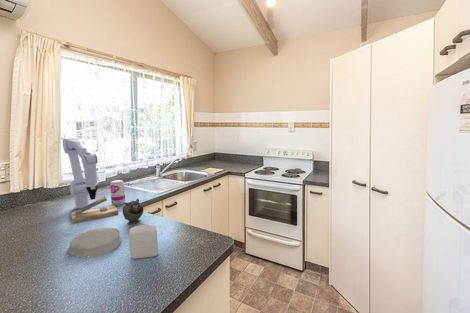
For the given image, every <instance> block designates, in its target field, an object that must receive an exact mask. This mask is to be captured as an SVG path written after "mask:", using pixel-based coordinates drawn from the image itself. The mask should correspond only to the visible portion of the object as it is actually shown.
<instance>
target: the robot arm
mask: <svg viewBox="0 0 470 313" xmlns="http://www.w3.org/2000/svg"><path fill="white" fill-rule="evenodd" d="M84 144H85V143H84V139H83V138H82V137H76V138H75V137H74V138H73V137H70V138H66V137H65V138H63V139H62V148H63V151H64V154H67V155H68V159H69V163H70V166H71V171H72V176H73V180H72V181H71V182H70V183H69V190H70V194H71V195H72V196H73V197H74V209H75V208H77V207H80V208H82V207H85V206H87V205H89V204H90V200H95V199H96V195H97V191H98V189H99V188H98V185H100V181H99V182H98V176H97V174H98V173H97V164H98V156H97V154H96V153H92V152H91V151H90V150H89V148H87V147H85V146H84ZM79 157H80V158H79ZM80 159H81V162H82V166H81V163H80ZM81 167H83V170H82V168H81ZM83 171H84V175H83ZM89 198H90V199H89Z"/></svg>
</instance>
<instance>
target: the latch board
mask: <svg viewBox="0 0 470 313" xmlns="http://www.w3.org/2000/svg"><path fill="white" fill-rule="evenodd" d="M77 209H80V207H77V208H74V211H72V212H70V213H71V220H72V224H77V223H80V222H85V221H90V220H96V219H100V218H101V219H102V218H106V217H112V216H116V215H119V210H118V208H117V207H116V205H113V204H108V205H104V206H98V207H92V208H90V209H88V210H86V211H84V212H82V213H81V210H80V211H76V210H77Z"/></svg>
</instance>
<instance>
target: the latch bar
mask: <svg viewBox="0 0 470 313" xmlns="http://www.w3.org/2000/svg"><path fill="white" fill-rule="evenodd" d="M106 201H107V197H106V196H103V197H100V198H97V200H95V201H93V202H91V203H89V205H87V206H85V207H82V208H80V209H77V210H76V211H80V210H81V213H82V212H84V211H86V210H88V209H92V208H95V207H96V206H98V205H99V204H102V203H105V202H106Z"/></svg>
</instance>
